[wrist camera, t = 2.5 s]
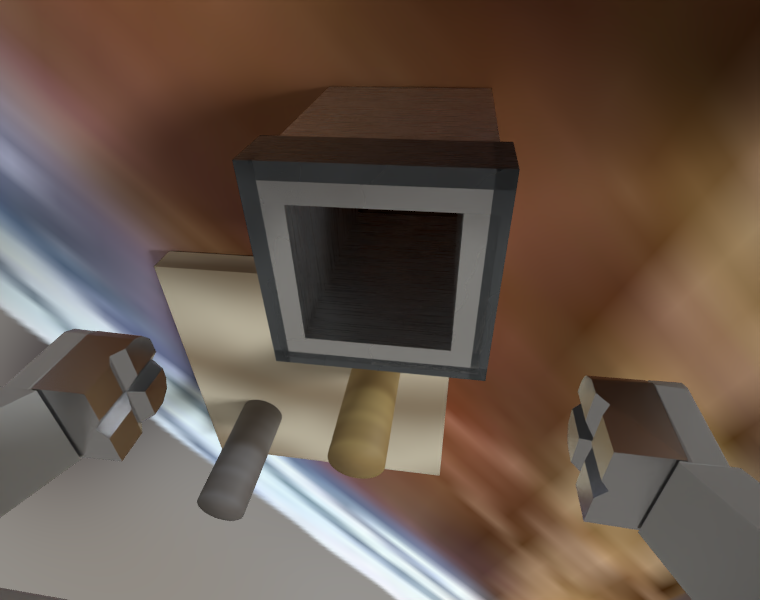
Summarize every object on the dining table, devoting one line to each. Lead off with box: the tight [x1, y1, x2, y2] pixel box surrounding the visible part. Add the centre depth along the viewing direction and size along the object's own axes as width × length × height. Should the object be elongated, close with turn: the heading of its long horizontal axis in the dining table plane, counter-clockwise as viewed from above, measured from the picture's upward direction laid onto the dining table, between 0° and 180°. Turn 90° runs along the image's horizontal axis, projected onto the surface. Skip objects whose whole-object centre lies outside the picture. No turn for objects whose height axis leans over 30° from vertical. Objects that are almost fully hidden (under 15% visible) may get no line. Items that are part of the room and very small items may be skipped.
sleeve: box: [232, 87, 520, 381], centre depth 13 cm, size 5×5×7 cm
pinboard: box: [154, 251, 449, 521], centre depth 20 cm, size 12×12×6 cm
